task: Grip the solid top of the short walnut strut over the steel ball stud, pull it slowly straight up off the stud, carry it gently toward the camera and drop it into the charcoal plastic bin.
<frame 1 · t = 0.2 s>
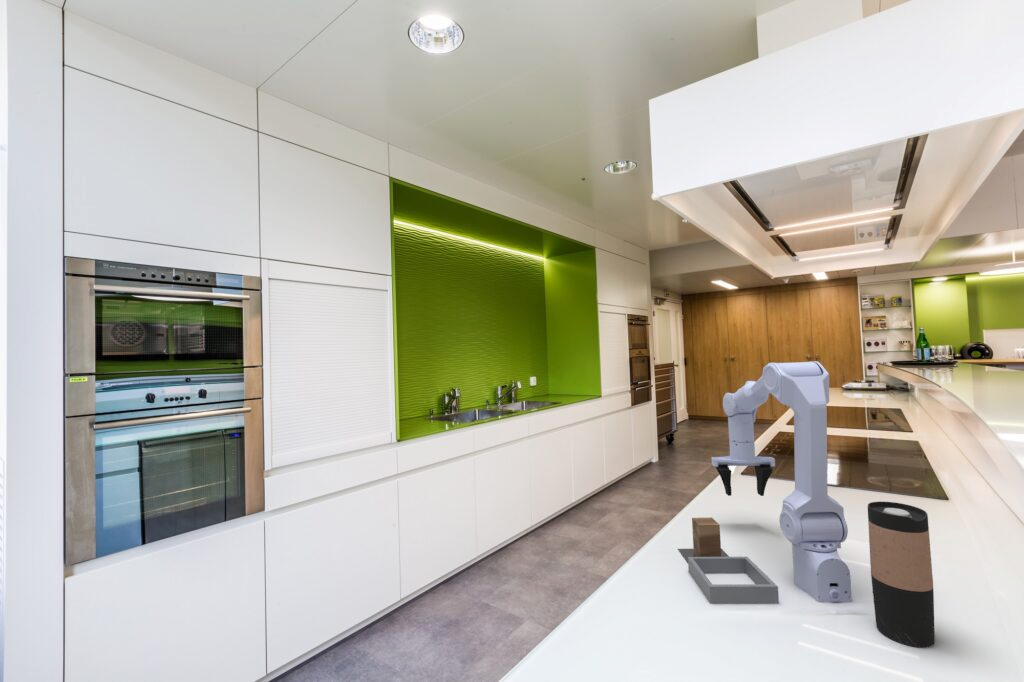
hand: (744, 494, 113), 10 cm above the countertop, tool pointing down, fingers open, 7 cm apart
charcoal bin: (730, 591, 87), on the countertop
stud plate: (707, 562, 99), on the countertop
travel mug: (904, 635, 72), on the countertop
walnut strut: (707, 558, 99), point 1 cm above the countertop, touching stud plate
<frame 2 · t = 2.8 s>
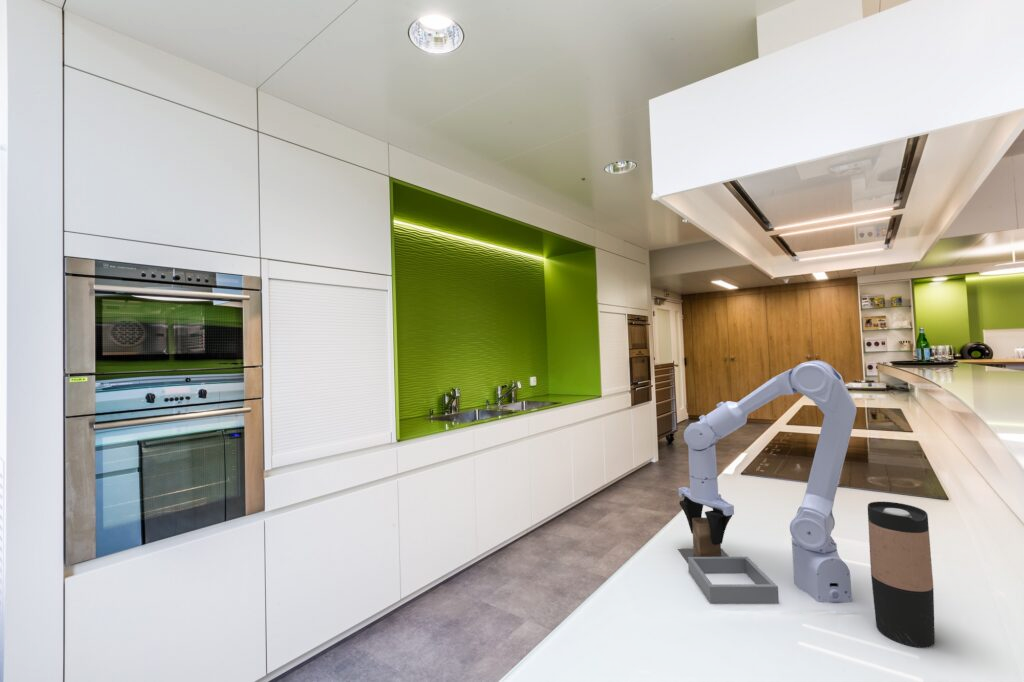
hand: (706, 538, 99), 5 cm above the countertop, tool pointing down, fingers closed on walnut strut, 6 cm apart
walnut strut: (707, 558, 99), point 1 cm above the countertop, touching gripper, stud plate
everything else where it was.
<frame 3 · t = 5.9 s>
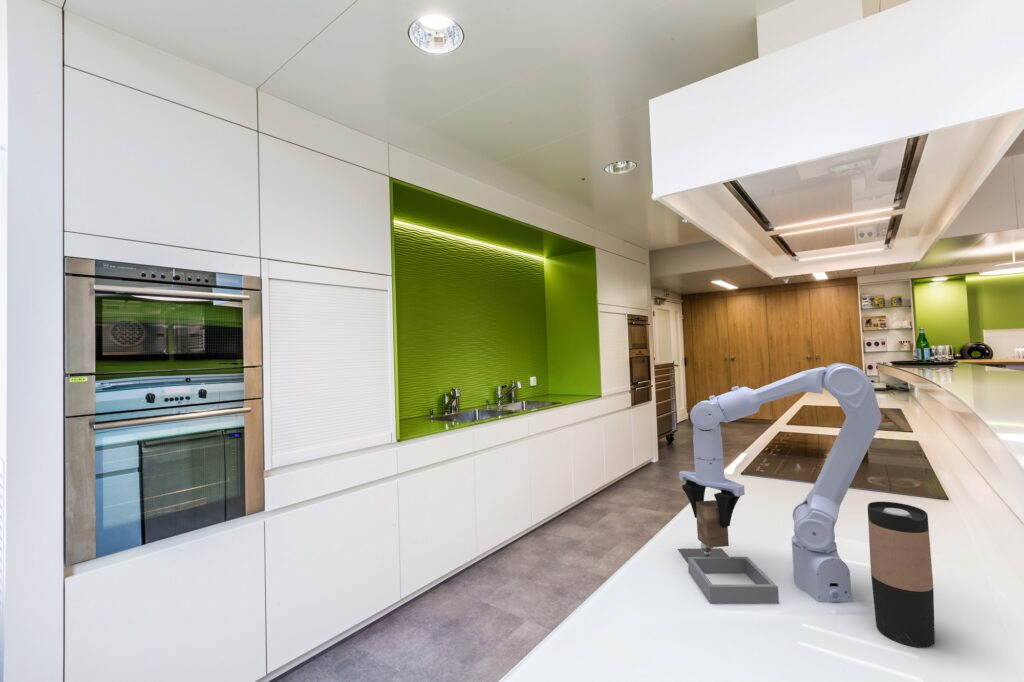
hand: (711, 521, 95), 10 cm above the countertop, tool pointing down, fingers closed on walnut strut, 6 cm apart
walnut strut: (712, 542, 95), point 6 cm above the countertop, touching gripper
everything else where it was.
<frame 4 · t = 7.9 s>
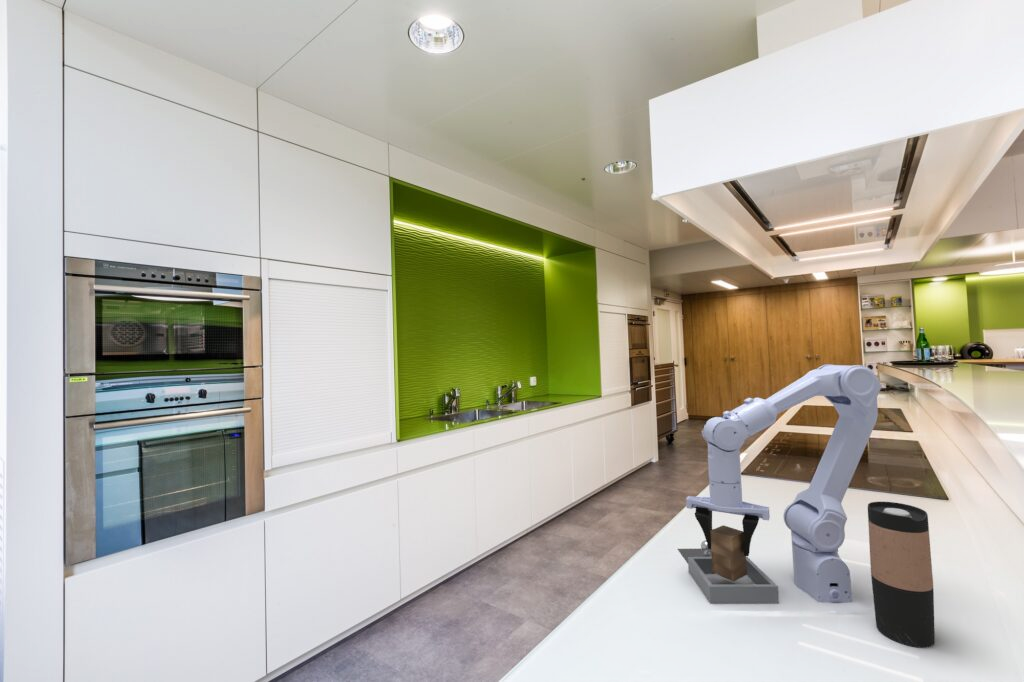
hand: (728, 550, 87), 8 cm above the countertop, tool pointing down, fingers closed on walnut strut, 6 cm apart
walnut strut: (729, 573, 87), point 3 cm above the countertop, touching gripper
everything else where it was.
when the fingers open (5 cm above the countertop, at t = 9.4 s): walnut strut stays where it is, resting on charcoal bin.
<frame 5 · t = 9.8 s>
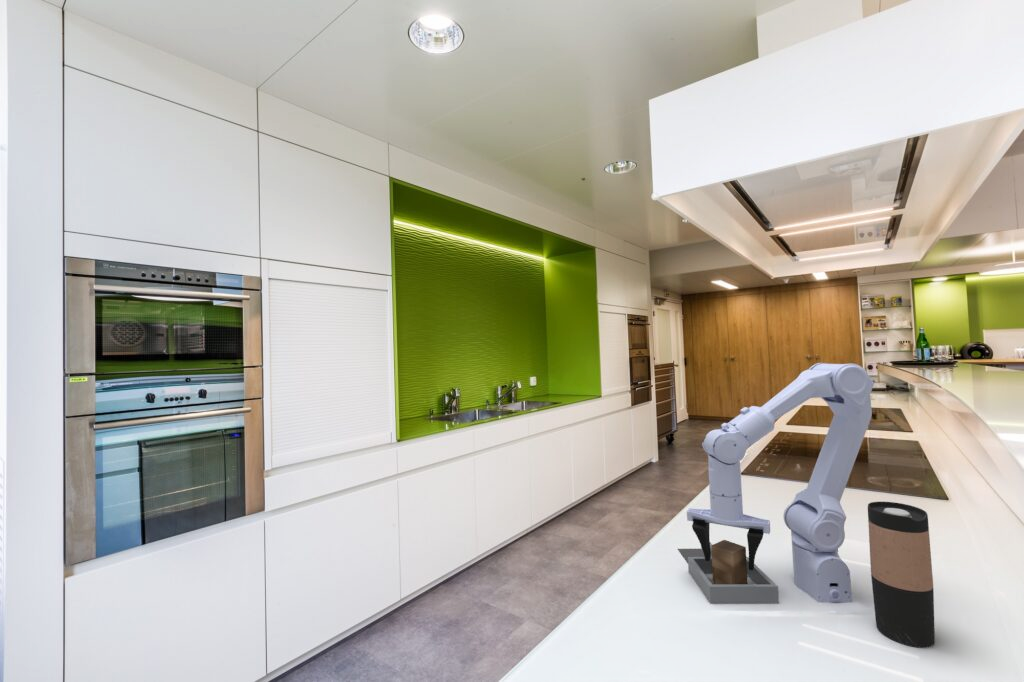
hand: (729, 563, 87), 5 cm above the countertop, tool pointing down, fingers open, 7 cm apart
walnut strut: (730, 588, 87), point 1 cm above the countertop, touching charcoal bin
everything else where it was.
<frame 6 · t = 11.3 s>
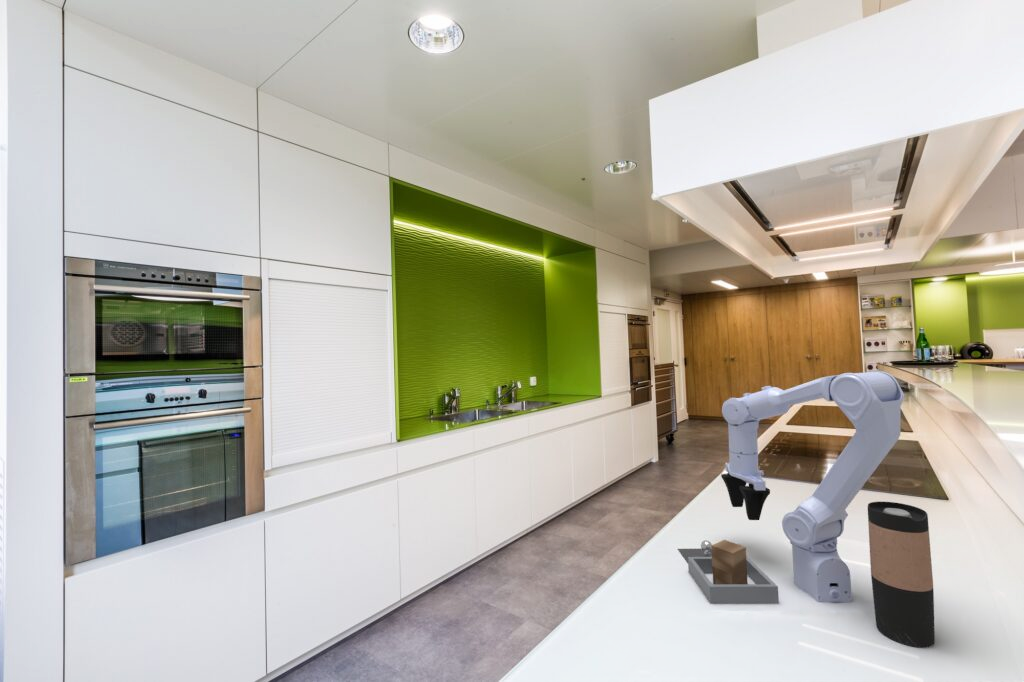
hand: (745, 512, 99), 10 cm above the countertop, tool pointing down, fingers open, 7 cm apart
nothing on the countertop moved.
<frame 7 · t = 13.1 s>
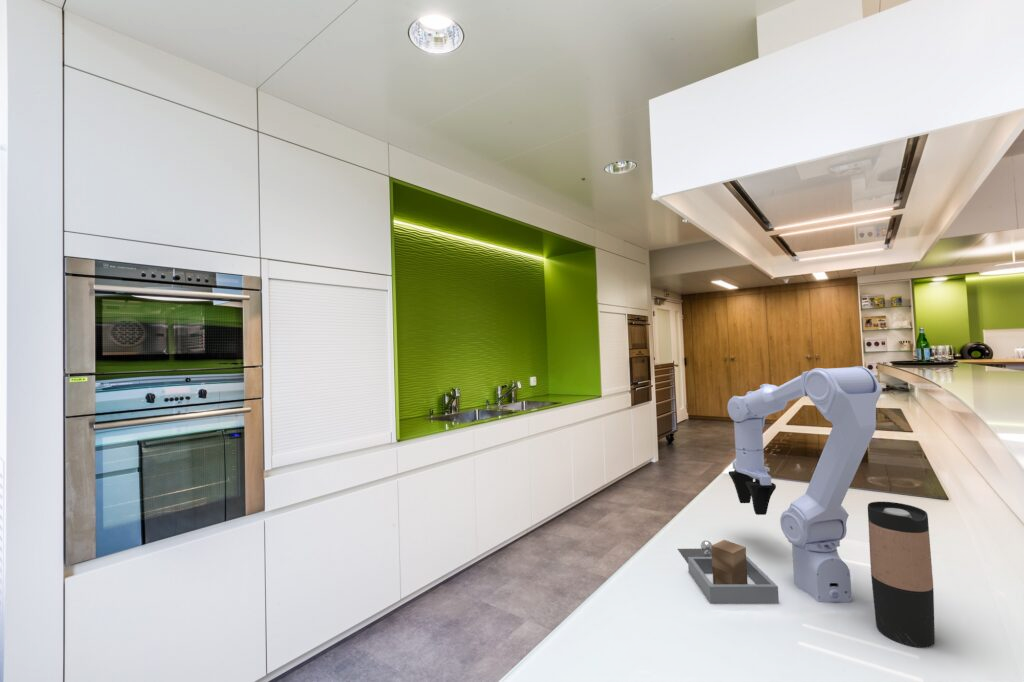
hand: (752, 508, 102), 10 cm above the countertop, tool pointing down, fingers open, 7 cm apart
nothing on the countertop moved.
at the end: walnut strut inside the target area on the charcoal bin (0.0 cm from its centre), point 0.6 cm above the charcoal bin's base; the gripper is holding nothing; walnut strut moved 12.0 cm from its start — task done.
